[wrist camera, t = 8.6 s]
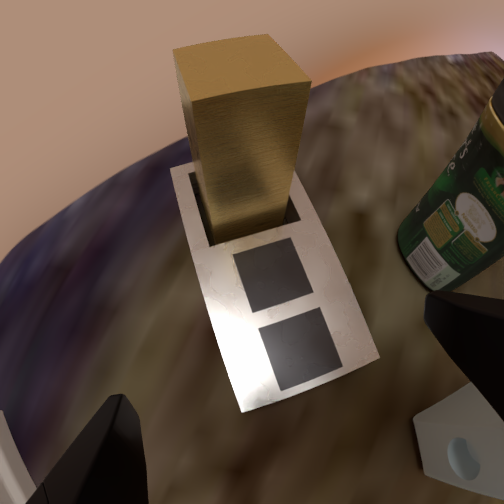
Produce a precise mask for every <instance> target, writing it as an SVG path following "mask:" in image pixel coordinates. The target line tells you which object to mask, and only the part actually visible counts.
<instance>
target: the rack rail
mask: <svg viewBox="0 0 504 504" xmlns="http://www.w3.org/2000/svg"><path fill="white" fill-rule="evenodd" d="M170 171H171V175H172V179H173V184H174V188H175V192H176V196H177V200H178V204H179V208H180V212H181V216H182V220H183V224H184V228H185V231H186V235H187V239H188V243H189V246H190V250H191V254H192V257H193V261H194V265H195V268H196V272H197V275H198V279H199V282H200V286H201V289H202V292H203V296H204V299H205V302H206V306H207V309H208V312H209V316H210V319H211V322H212V325H213V329H214V332H215V335H216V338H217V341H218V344H219V347H220V350H221V354H222V357H223V360H224V363H225V366H226V369H227V372H228V375H229V377H230V380H231V383H232V386H233V389H234V392H235V395H236V398H237V400H238V403H239V406H240V409H241V412H242V413H243V412H246V411H249V410H253V409H256V408H259V407H262V406H265V405H268V404H271V403H274V402H277V401H279V400H282V399H285V398H288V397H290V396H293V395H296V394H298V393H301V392H304V391H306V390H309V389H311V388H314V387H316V386H319V385H321V384H324V383H326V382H328V381H331V380H333V379H335V378H338V377H340V376H342V375H345V374H347V373H349V372H351V371H353V370H356V369H358V368H360V367H362V366H364V365H366V364H368V363H370V362H372V361H375V360H377V359H379V358H380V357H379V354H378V351H377V349H376V346H375V344H374V341H373V339H372V336H371V334H370V331H369V329H368V326H367V324H366V321H365V319H364V317H363V314H362V312H361V309H360V307H359V305H358V302H357V300H356V298H355V295H354V293H353V291H352V288H351V286H350V284H349V282H348V279H347V277H346V275H345V273H344V270H343V268H342V266H341V264H340V262H339V259H338V257H337V255H336V253H335V251H334V249H333V247H332V244H331V242H330V240H329V238H328V236H327V234H326V232H325V230H324V228H323V226H322V224H321V222H320V220H319V218H318V215H317V213H316V211H315V209H314V207H313V205H312V203H311V202H310V200H309V198H308V196H307V194H306V192H305V190H304V188H303V186H302V184H301V182H300V180H299V178H298V176H297V174H296V173H295V171H294V173H293V178H292V183H291V187H290V192H289V197H288V201H287V206H286V211H285V218H286V220H287V222H288V224H287V225H284V226H280V227H277V228H273V229H270V230H266V231H263V232H259V233H256V234H253V235H249V236H246V237H242V238H239V239H235V240H232V241H229V242H225V243H222V244H219V245H215V246H212V247H209V244H208V240H207V237H206V234H205V231H204V227H203V224H202V220H201V217H200V214H199V210H198V207H197V203H196V200H195V196H194V195H197V194H200V193H199V188H198V183H197V179H196V174H195V169H194V164H193V162H191V163H188V164H184V165H181V166H177V167H174V168H170Z"/></svg>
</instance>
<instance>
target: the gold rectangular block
mask: <svg viewBox="0 0 504 504" xmlns="http://www.w3.org/2000/svg"><path fill="white" fill-rule="evenodd" d="M173 56H174V62H175V68H176V73H177V80H178V85H179V90H180V97H181V102H182V108H183V113H184V118H185V124H186V129H187V134H188V139H189V144H190V149H191V154H192V159H193V164H194V169H195V174H196V179H197V183H198V188H199V193H200V198H201V202H202V205H203V208H204V211H205V215H206V218H207V221H208V224H209V227H210V230H211V234H212V237H213V240H214V243H215V245H219V244H222V243H225V242H229V241H232V240H235V239H239V238H242V237H246V236H249V235H253V234H256V233H259V232H263V231H266V230H270V229H273V228H277V227H280V226H282V225H283V220H284V215H285V211H286V206H287V201H288V197H289V192H290V187H291V183H292V178H293V173H294V168H295V163H296V158H297V154H298V149H299V144H300V139H301V134H302V129H303V124H304V119H305V113H306V108H307V103H308V98H309V93H310V87H311V82H312V81H311V79H310V78H309V77H308V76H307V75H306V74H305V73H304V72H303V70H302V69H301V68H300V67H299V66H298V65H297V64H296V63H295V62H294V61H293V60H292V59H291V57H290V56H289V55H288V54H287V53H286V52H285V51H284V50H283V49H282V48H281V47H280V46H279V45H278V44H277V43H276V42H275V41H274V40H273V39H272V38H271V37H270V36H269V35H268V34H264V35H254V36H247V37H246V36H245V37H238V38H231V39H224V40H218V41H212V42H206V43H202V44H196V45H191V46H187V47H182V48H178V49H173Z"/></svg>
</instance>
